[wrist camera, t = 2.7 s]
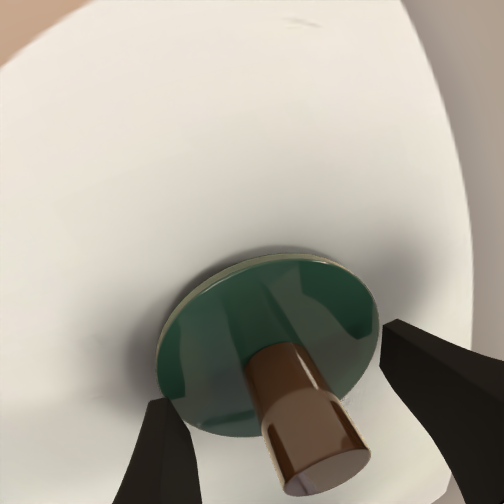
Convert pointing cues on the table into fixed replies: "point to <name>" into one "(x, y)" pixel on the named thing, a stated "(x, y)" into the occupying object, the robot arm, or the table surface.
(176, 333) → the lid
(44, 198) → the table surface
